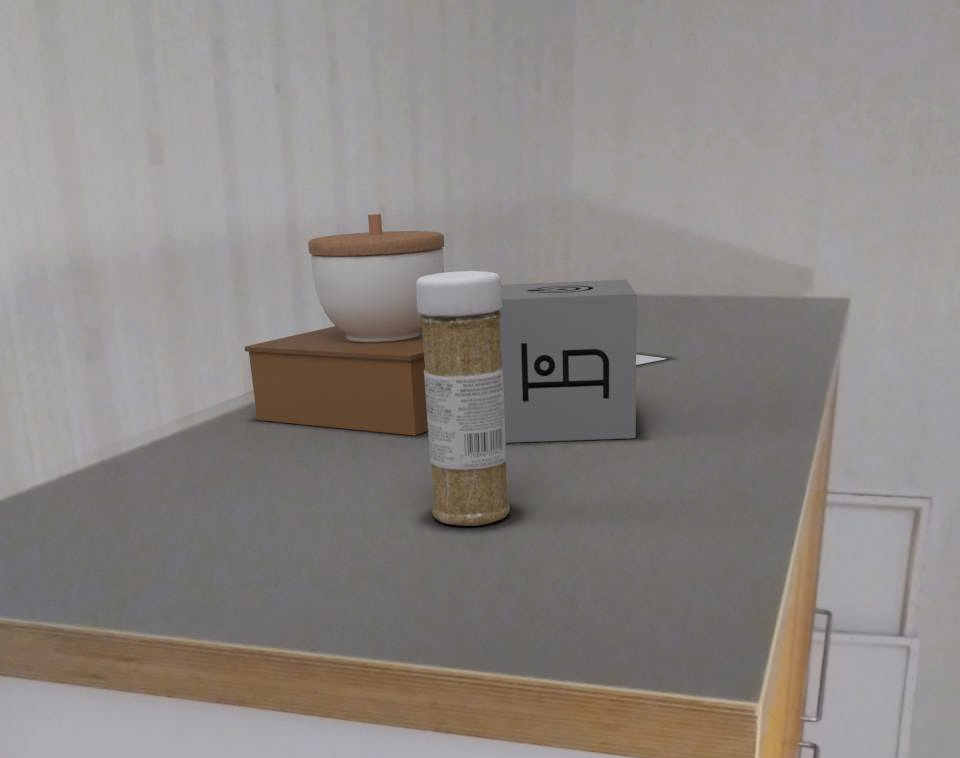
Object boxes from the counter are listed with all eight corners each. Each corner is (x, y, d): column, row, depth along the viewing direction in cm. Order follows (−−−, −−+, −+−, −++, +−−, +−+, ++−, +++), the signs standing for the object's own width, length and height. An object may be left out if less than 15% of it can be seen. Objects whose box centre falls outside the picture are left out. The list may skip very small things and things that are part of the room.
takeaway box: (253, 420, 93) (244, 346, 90) (359, 388, 104) (353, 321, 101) (416, 436, 84) (410, 355, 82) (512, 400, 96) (509, 327, 93)
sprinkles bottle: (499, 502, 67) (490, 267, 62) (518, 523, 63) (510, 274, 58) (425, 510, 66) (409, 273, 61) (439, 532, 62) (423, 280, 57)
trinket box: (467, 327, 94) (461, 208, 91) (420, 348, 85) (412, 216, 81) (351, 327, 98) (341, 212, 94) (294, 346, 89) (281, 220, 85)
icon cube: (497, 443, 81) (491, 300, 77) (500, 414, 90) (495, 285, 86) (635, 438, 81) (636, 293, 77) (625, 409, 90) (625, 279, 86)
